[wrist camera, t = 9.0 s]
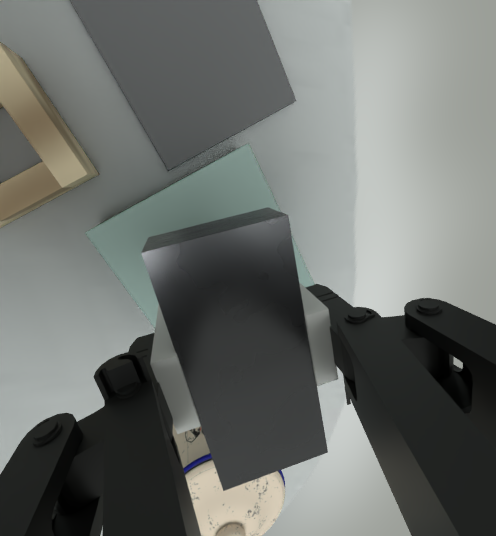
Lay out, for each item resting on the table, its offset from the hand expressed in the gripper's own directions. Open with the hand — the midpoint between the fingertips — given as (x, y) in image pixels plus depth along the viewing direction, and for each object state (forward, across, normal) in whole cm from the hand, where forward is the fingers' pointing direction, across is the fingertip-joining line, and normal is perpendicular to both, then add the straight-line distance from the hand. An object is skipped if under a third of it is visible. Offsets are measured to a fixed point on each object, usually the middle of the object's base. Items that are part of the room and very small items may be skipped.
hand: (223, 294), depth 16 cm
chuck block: (+11, +1, -2) cm, 11 cm away
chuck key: (+5, 0, 0) cm, 5 cm away
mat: (+11, +2, +14) cm, 18 cm away
